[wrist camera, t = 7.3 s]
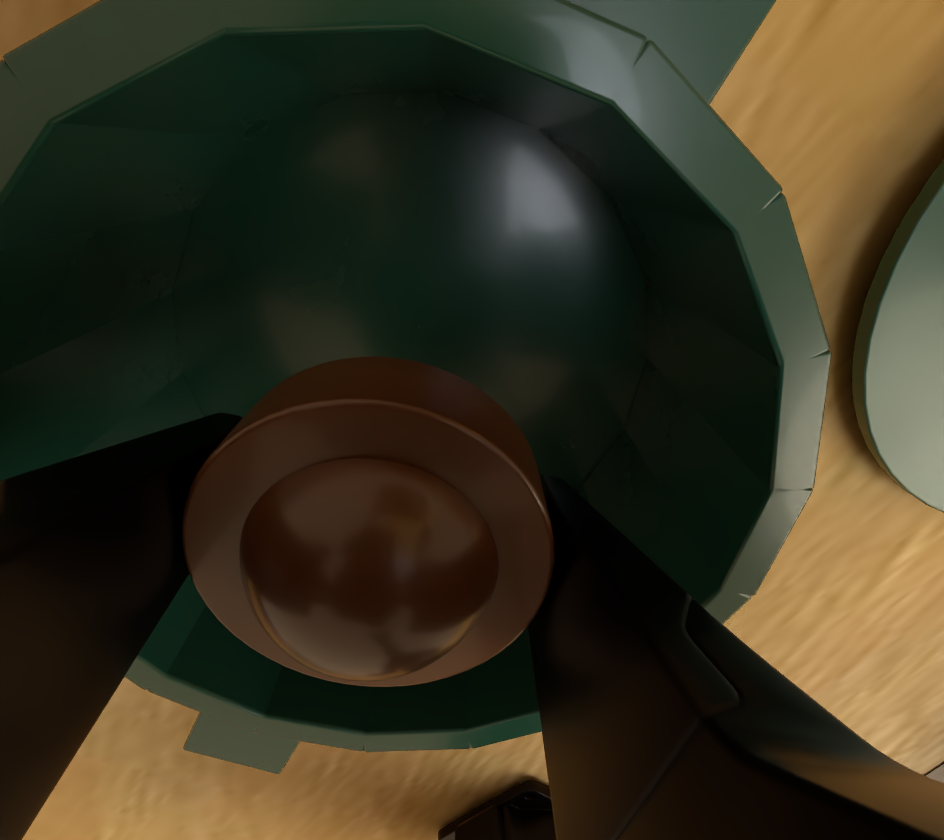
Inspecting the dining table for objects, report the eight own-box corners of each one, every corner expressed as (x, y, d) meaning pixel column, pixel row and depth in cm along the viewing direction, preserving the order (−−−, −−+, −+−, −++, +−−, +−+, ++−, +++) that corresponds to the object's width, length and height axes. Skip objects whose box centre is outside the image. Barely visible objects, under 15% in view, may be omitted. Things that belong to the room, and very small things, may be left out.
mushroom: (580, 438, 10) (664, 639, 6) (413, 578, 12) (384, 816, 8) (381, 255, 9) (297, 348, 4) (219, 447, 10) (39, 654, 6)
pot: (861, 145, 12) (1255, 135, 6) (469, 645, 19) (473, 857, 13) (297, -291, 8) (-54, -1241, 3) (94, 512, 16) (-114, 714, 10)
